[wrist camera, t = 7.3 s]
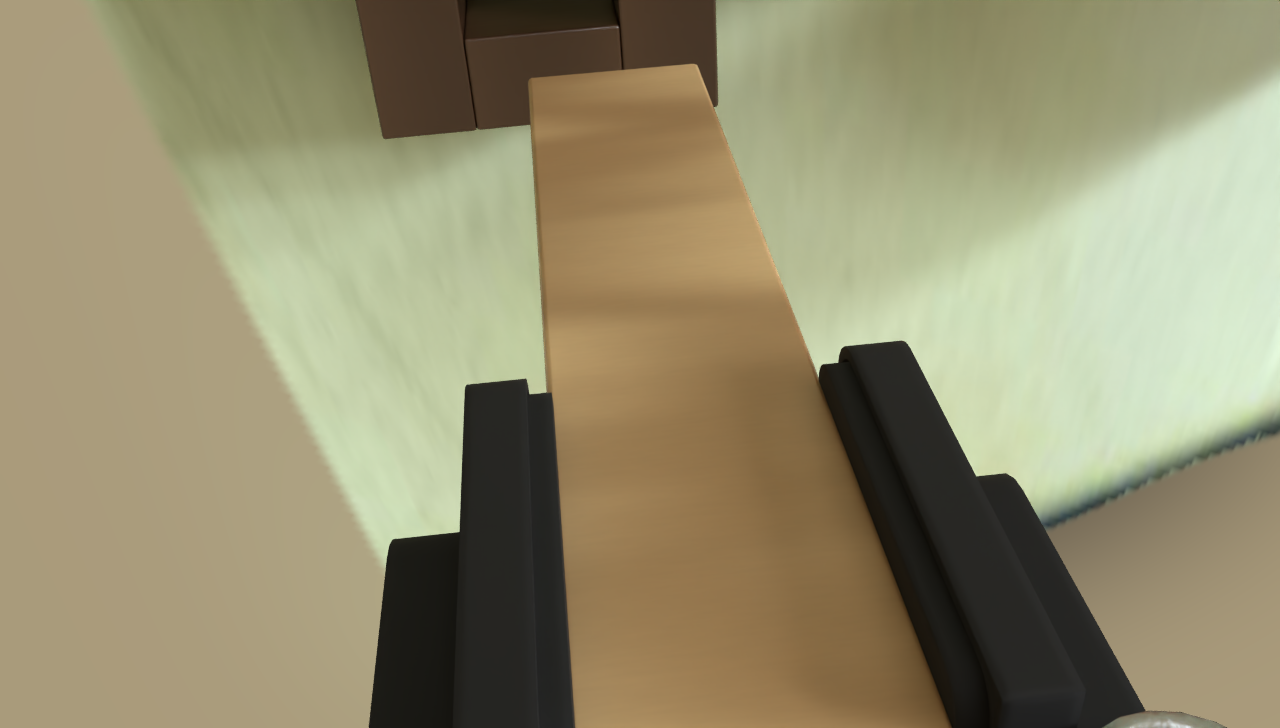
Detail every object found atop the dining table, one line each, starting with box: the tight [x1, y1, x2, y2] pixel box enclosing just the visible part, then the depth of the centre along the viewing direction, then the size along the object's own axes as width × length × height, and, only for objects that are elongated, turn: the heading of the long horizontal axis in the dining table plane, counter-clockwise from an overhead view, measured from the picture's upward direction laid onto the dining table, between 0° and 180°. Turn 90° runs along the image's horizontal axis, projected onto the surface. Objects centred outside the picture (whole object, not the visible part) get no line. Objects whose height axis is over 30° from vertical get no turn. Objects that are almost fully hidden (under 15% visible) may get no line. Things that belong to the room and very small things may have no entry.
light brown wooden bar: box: [528, 64, 952, 728], centre depth 12 cm, size 2×2×13 cm
